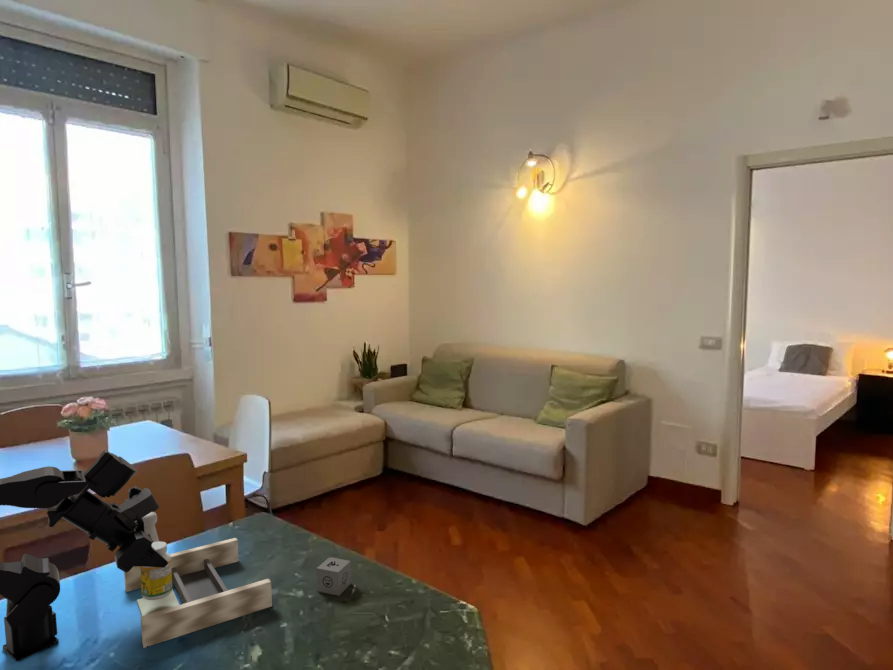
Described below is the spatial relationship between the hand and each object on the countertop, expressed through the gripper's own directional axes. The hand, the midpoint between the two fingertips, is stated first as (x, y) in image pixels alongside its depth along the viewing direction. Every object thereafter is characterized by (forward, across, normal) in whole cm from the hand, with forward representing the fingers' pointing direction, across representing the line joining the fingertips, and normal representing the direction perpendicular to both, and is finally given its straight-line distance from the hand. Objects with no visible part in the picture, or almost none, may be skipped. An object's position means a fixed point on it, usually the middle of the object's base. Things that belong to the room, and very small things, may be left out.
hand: (163, 559), depth 116 cm
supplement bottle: (+4, 0, +6) cm, 7 cm away
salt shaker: (+7, +17, +7) cm, 20 cm away
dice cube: (+28, -13, -14) cm, 34 cm away
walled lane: (+11, 0, +2) cm, 11 cm away
